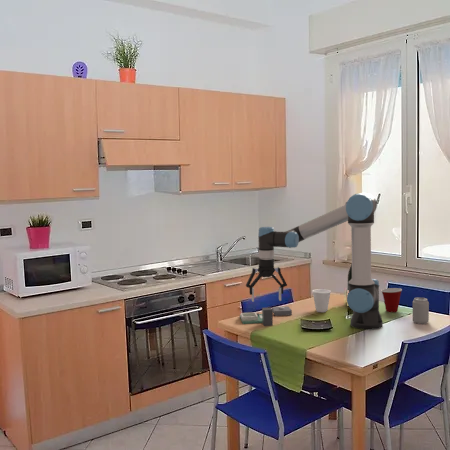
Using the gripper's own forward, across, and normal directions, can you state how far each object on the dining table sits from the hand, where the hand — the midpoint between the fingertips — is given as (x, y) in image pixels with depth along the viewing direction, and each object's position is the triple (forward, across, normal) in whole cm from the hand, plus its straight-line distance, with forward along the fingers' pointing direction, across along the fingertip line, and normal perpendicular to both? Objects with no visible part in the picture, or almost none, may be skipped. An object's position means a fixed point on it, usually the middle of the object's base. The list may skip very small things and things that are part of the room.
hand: (266, 300), depth 269 cm
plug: (+12, 0, 0) cm, 12 cm away
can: (+11, -75, +10) cm, 76 cm away
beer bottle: (+12, -57, -35) cm, 68 cm away
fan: (+12, -11, -20) cm, 26 cm away
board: (+12, +6, -10) cm, 17 cm away
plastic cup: (+11, -69, -14) cm, 72 cm away
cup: (+12, -33, -21) cm, 41 cm away
